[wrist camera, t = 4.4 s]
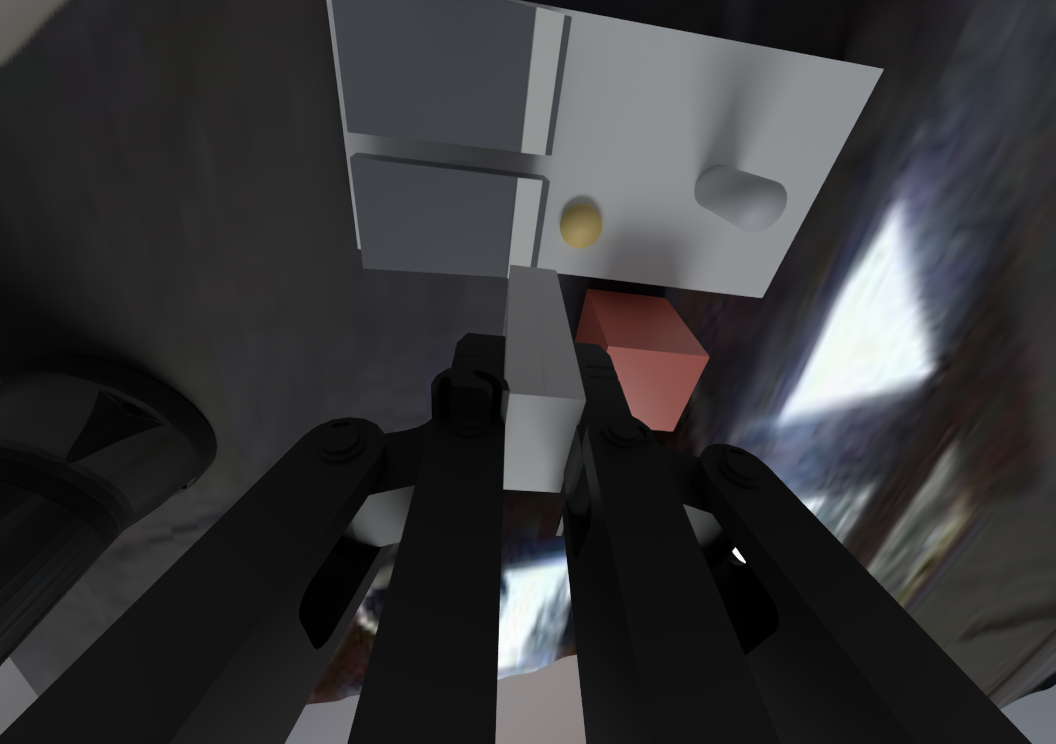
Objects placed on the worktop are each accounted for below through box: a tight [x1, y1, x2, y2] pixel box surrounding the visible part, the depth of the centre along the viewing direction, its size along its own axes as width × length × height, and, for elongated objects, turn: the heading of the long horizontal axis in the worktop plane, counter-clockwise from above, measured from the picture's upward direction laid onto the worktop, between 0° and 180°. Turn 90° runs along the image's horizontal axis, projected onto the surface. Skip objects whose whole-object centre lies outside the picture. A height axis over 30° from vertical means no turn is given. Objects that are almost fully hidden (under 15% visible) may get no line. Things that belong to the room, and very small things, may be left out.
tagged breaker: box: [350, 152, 550, 278], centre depth 19 cm, size 9×5×2 cm, turn 82°
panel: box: [327, 0, 884, 298], centre depth 20 cm, size 26×12×8 cm, turn 82°
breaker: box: [332, 0, 572, 156], centre depth 16 cm, size 9×5×2 cm, turn 82°
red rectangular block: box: [575, 289, 709, 431], centre depth 26 cm, size 6×6×8 cm
